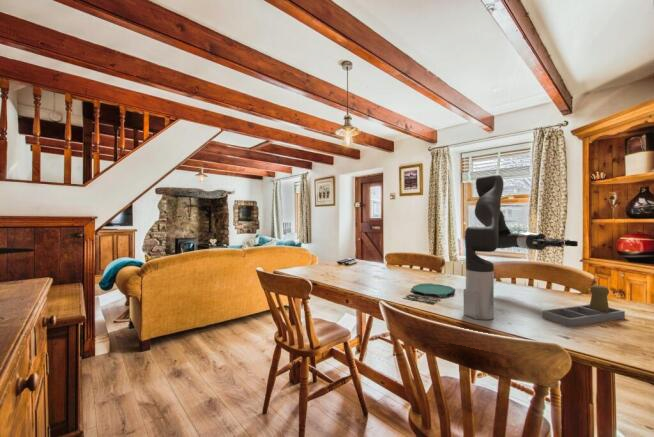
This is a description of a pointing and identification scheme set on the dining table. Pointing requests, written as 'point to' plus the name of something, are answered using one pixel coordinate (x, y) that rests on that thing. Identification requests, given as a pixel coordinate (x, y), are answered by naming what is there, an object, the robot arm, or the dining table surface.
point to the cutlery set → (430, 292)
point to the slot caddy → (581, 315)
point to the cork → (599, 298)
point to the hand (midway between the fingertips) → (569, 244)
